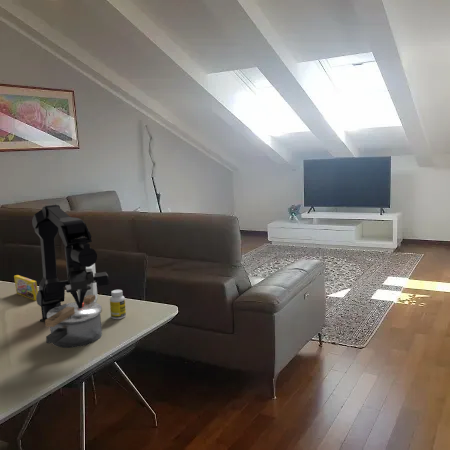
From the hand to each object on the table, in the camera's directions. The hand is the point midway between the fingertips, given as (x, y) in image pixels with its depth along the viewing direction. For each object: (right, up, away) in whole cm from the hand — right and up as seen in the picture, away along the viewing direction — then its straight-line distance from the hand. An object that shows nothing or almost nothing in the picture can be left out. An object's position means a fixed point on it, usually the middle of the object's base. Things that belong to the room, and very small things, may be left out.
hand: (80, 308), depth 148 cm
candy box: (-38, -5, +52) cm, 64 cm away
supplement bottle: (+7, -8, +25) cm, 27 cm away
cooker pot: (-4, -11, +6) cm, 13 cm away
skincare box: (-9, -5, +41) cm, 43 cm away
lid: (-4, -3, +5) cm, 7 cm away
